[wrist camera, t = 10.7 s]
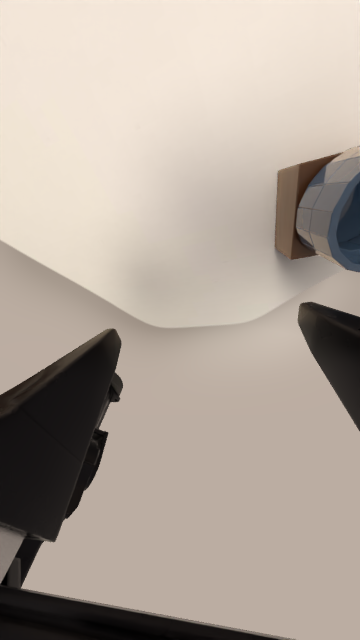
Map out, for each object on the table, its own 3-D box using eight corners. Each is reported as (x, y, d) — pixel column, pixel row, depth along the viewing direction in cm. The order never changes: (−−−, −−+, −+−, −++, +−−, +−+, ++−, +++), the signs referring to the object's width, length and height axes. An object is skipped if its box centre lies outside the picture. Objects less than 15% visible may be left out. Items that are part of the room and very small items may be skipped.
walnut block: (346, 234, 17) (381, 244, 14) (274, 248, 18) (290, 260, 15) (366, 147, 14) (418, 132, 10) (277, 170, 15) (299, 163, 12)
